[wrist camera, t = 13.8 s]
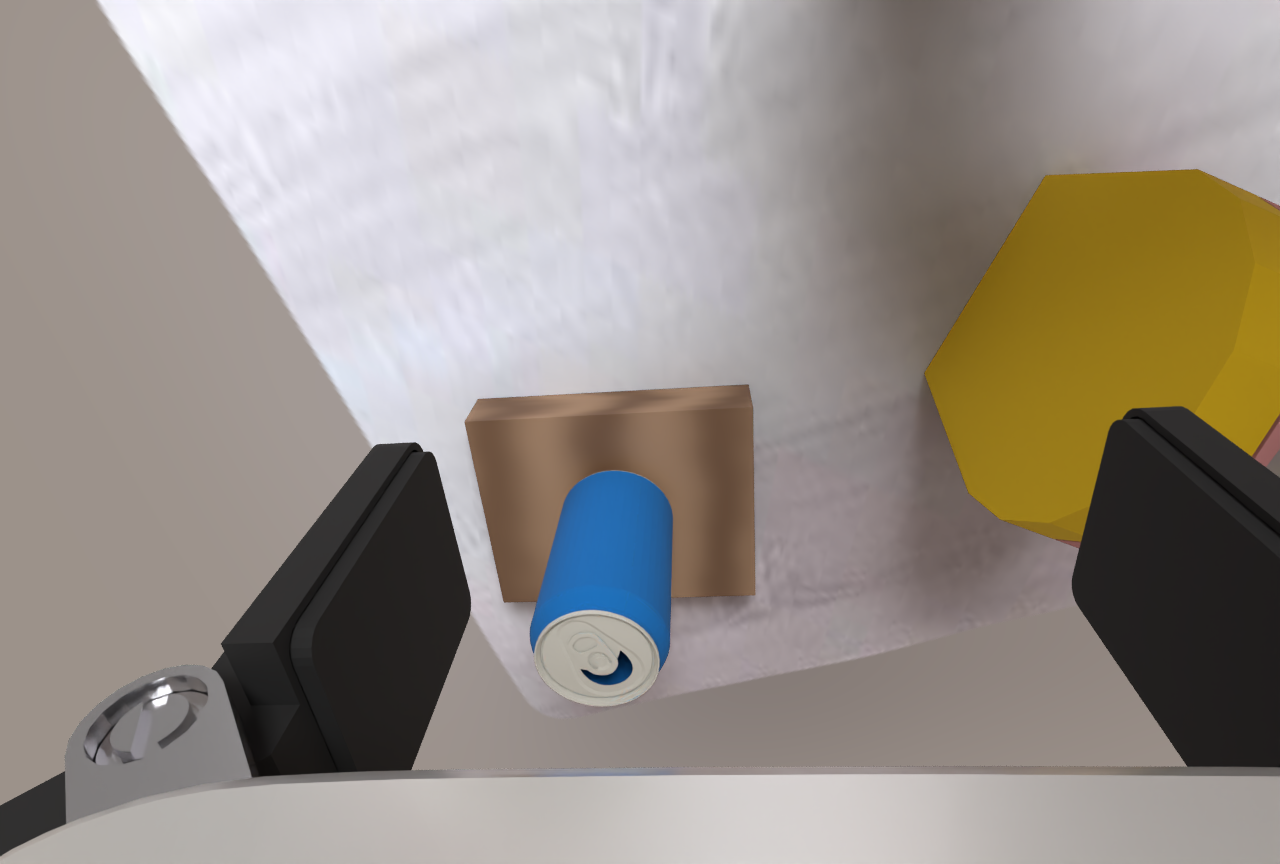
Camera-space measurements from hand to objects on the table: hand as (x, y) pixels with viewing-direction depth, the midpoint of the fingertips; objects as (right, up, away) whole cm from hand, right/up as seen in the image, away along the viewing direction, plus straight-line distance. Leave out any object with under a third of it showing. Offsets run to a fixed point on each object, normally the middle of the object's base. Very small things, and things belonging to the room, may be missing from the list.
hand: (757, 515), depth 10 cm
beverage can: (-3, -3, +33) cm, 33 cm away
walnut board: (-3, -2, +35) cm, 35 cm away
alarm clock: (+20, +8, +29) cm, 36 cm away
